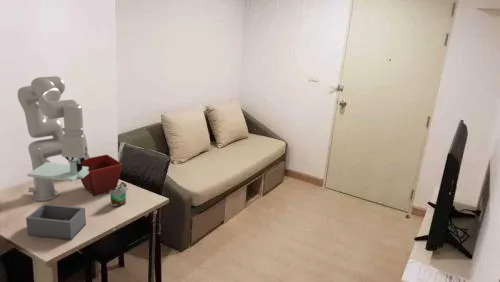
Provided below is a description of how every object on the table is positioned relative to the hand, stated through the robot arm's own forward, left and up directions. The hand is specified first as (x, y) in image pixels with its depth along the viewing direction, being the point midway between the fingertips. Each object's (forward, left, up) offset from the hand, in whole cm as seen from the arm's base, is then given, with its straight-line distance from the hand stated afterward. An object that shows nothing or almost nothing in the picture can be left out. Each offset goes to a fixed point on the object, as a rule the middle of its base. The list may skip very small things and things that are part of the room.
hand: (76, 170), depth 179 cm
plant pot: (-8, +39, -29) cm, 50 cm away
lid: (-7, 0, -3) cm, 8 cm away
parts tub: (-8, -6, -29) cm, 30 cm away
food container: (+10, +25, -29) cm, 40 cm away
